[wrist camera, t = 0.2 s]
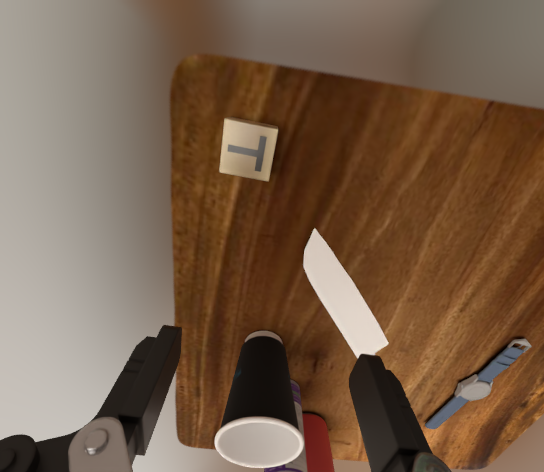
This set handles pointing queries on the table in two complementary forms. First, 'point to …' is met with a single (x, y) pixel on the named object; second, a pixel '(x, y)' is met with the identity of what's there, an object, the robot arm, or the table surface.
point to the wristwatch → (478, 383)
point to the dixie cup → (260, 407)
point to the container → (298, 467)
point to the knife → (342, 298)
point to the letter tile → (247, 148)
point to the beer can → (317, 444)
